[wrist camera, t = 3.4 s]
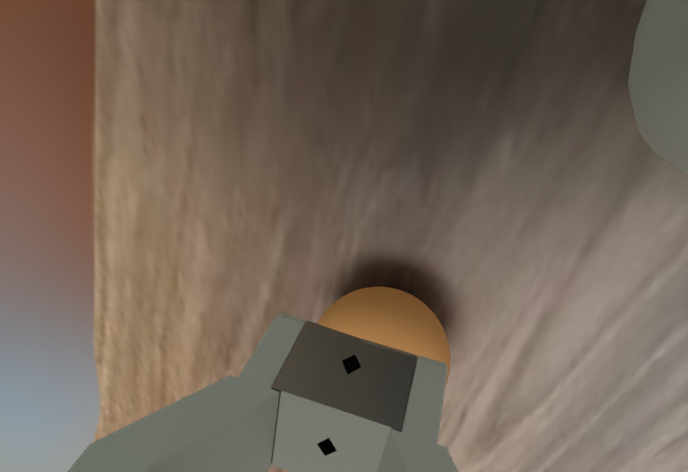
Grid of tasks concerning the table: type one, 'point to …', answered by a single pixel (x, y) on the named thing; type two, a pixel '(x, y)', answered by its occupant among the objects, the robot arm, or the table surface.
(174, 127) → the table surface
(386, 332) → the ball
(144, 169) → the table surface
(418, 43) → the table surface
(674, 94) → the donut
